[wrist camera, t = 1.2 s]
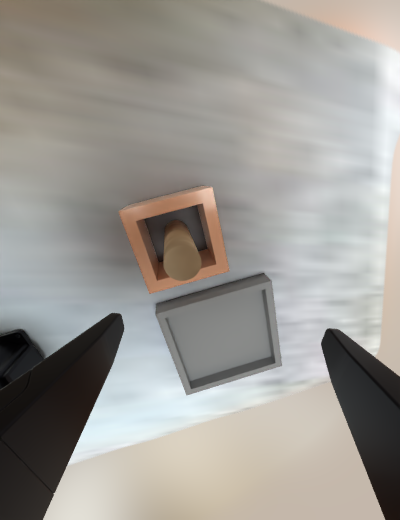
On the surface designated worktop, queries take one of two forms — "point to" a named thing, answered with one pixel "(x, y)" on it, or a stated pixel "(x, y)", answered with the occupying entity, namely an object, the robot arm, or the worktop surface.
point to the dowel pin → (180, 252)
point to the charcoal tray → (222, 333)
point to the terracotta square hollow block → (143, 247)
